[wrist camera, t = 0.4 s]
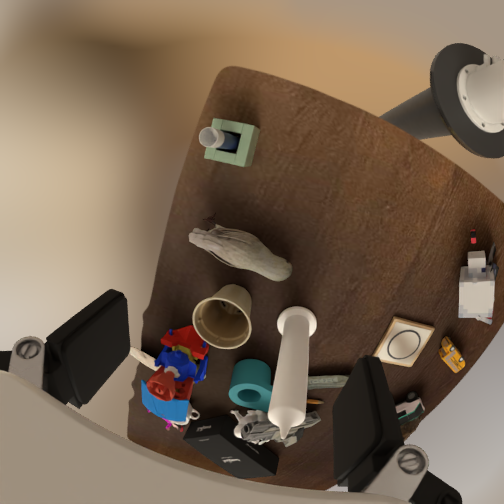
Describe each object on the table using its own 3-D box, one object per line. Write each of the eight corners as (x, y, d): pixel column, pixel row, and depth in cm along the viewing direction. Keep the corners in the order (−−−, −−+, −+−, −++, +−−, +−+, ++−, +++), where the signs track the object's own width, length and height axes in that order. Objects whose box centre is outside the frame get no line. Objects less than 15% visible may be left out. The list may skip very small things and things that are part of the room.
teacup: (169, 405, 64) (161, 419, 59) (166, 387, 61) (157, 401, 56) (204, 415, 62) (197, 430, 57) (203, 398, 60) (195, 414, 55)
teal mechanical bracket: (246, 377, 45) (220, 395, 48) (304, 409, 48) (277, 423, 51) (249, 353, 51) (226, 371, 54) (302, 385, 54) (278, 401, 57)
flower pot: (199, 298, 51) (181, 322, 42) (230, 264, 47) (214, 285, 39) (238, 329, 51) (226, 358, 43) (271, 299, 48) (264, 326, 40)
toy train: (165, 366, 58) (135, 409, 44) (170, 313, 53) (132, 357, 39) (205, 382, 58) (182, 430, 44) (218, 330, 52) (190, 383, 38)
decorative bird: (284, 280, 46) (280, 301, 39) (199, 236, 47) (181, 250, 40) (299, 253, 44) (298, 271, 37) (211, 208, 45) (194, 217, 38)
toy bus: (452, 343, 40) (437, 355, 42) (468, 363, 41) (455, 374, 43) (447, 333, 43) (433, 345, 45) (463, 354, 44) (451, 365, 45)
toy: (443, 318, 33) (473, 221, 30) (441, 302, 46) (463, 233, 44) (504, 343, 25) (535, 247, 23) (488, 321, 39) (510, 251, 36)
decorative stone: (176, 375, 59) (172, 382, 58) (130, 351, 62) (126, 357, 61) (170, 363, 54) (166, 371, 52) (120, 337, 57) (116, 343, 55)
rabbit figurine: (229, 411, 60) (219, 441, 51) (240, 396, 57) (230, 427, 48) (273, 427, 59) (267, 457, 50) (286, 413, 57) (282, 445, 48)
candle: (319, 307, 47) (320, 424, 23) (313, 339, 49) (309, 454, 26) (278, 304, 48) (252, 417, 25) (276, 336, 50) (250, 449, 27)
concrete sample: (406, 443, 42) (389, 433, 45) (393, 458, 46) (378, 449, 50) (429, 409, 47) (414, 400, 51) (416, 427, 52) (402, 419, 56)
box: (279, 458, 64) (275, 475, 58) (243, 463, 69) (238, 478, 63) (226, 414, 60) (219, 434, 54) (190, 422, 65) (182, 439, 59)
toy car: (421, 400, 49) (427, 415, 44) (378, 420, 53) (381, 436, 48) (416, 388, 49) (422, 404, 44) (371, 410, 53) (373, 426, 48)
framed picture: (393, 316, 44) (395, 318, 44) (433, 326, 44) (435, 329, 43) (370, 357, 48) (371, 360, 47) (410, 364, 47) (411, 367, 46)
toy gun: (295, 445, 57) (330, 416, 53) (224, 459, 47) (255, 430, 42) (289, 435, 60) (323, 404, 56) (219, 446, 50) (248, 415, 45)
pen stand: (223, 122, 40) (213, 117, 35) (260, 129, 39) (254, 125, 35) (214, 158, 42) (203, 157, 37) (251, 166, 41) (244, 167, 37)
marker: (231, 135, 40) (201, 125, 28) (245, 138, 40) (220, 128, 28) (228, 149, 41) (196, 145, 29) (242, 152, 41) (215, 148, 29)
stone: (355, 374, 47) (355, 389, 49) (355, 367, 49) (354, 382, 51) (293, 378, 51) (296, 392, 52) (294, 371, 52) (297, 385, 54)
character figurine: (152, 409, 68) (187, 427, 65) (143, 420, 63) (179, 438, 61) (151, 398, 66) (188, 416, 63) (141, 409, 62) (179, 428, 59)
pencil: (241, 389, 57) (324, 400, 54) (240, 393, 56) (324, 405, 53) (241, 388, 56) (325, 400, 53) (240, 392, 55) (325, 404, 53)
